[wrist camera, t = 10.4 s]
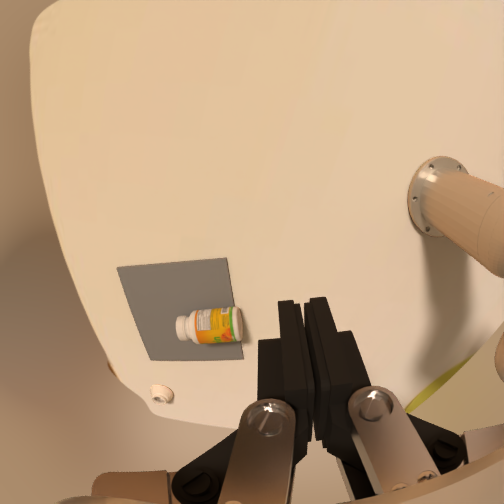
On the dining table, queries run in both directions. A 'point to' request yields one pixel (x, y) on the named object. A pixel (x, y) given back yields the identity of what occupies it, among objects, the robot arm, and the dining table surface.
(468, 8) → the dining table surface
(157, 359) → the felt mat
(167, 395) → the lidless jar
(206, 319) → the supplement bottle
